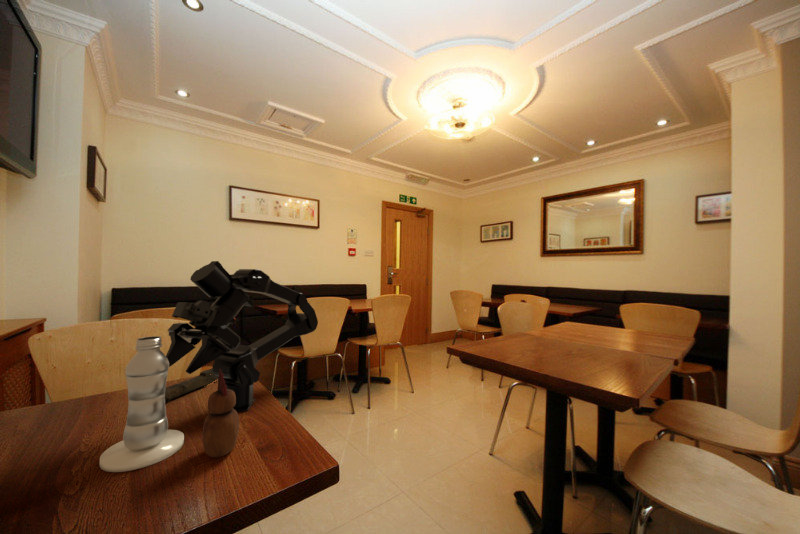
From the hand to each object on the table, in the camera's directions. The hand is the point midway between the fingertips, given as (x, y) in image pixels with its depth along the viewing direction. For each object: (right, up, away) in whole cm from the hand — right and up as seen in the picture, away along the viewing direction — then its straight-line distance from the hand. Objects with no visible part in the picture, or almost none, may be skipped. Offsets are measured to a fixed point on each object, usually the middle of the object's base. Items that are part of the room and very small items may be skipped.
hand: (175, 370), depth 63 cm
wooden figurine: (+13, -13, -6) cm, 20 cm away
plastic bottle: (-1, -12, -6) cm, 14 cm away
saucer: (-1, -13, -6) cm, 14 cm away
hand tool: (-13, -14, +23) cm, 30 cm away
